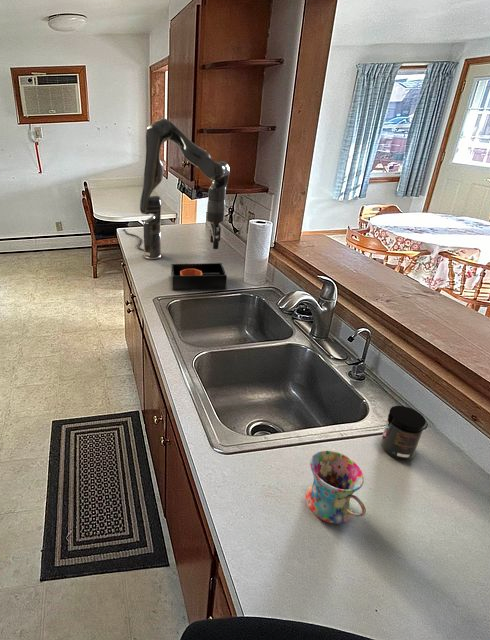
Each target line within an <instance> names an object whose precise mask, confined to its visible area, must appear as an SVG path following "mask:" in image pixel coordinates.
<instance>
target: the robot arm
mask: <svg viewBox="0 0 490 640" xmlns="http://www.w3.org/2000/svg"><path fill="white" fill-rule="evenodd" d="M167 141H171V142H173V143H174V144H175V145H177V147H178V148H179V150H180V152H181V154H182V155H183V157H184V158H185V160H186V161H188V162H189V163H190V164H192V165H193V166H195V167H196V168H198V169H199V170H200V172H202V174H203V175H204V176H205V177H206V178H208V179H209V180H211V181H212V182H211V185H210V186H209V187H208V197H207V205H206V206H207V207H206V221H207V222H208V223H209V234H210V238H209V239H210V240H209V241H210V243H212V249H213V250H218V249H219V243H220V241H221V230H222V228H221V225H220V223H222V222H224V221H225V219H226V218H225V217H226V193H227V192H226V191H227V186H228V182H229V177H230V165H229V164H228V162H227V161H225V160H218V161H214V159H212V158H211V154H210V153H209V152H207V151H206V150H205V149H203V148H202V147H200V146H199V145H197V144H195V143H194V142H193V141H192V140H191V139H189V138H188V137H187V136H186V135H185V134H184V133H183V132H182V131H181V130H180V129H179V128H178V127H177V126H175V124H174V123H173V122H172V121H170V120H169V119H167V118H159V119H158V120H156V121H154V122H152V123H151V124H150V125H149V126H148V127H147V128H146V132H145V159H144V160H145V161H144V168H143V179H142V180H143V181H142V189H141V193H140V201H139V211H140V213H141V214H142V215H145V216H146V215H148V216H149V215H152V216H150V217H148V218H147V219H145V220H143V221H142V227H143V228H142V229H143V230H142V231H143V248H141V247H140V245H141V242H142V239H141V237H140V236H138V235H137V234H135V233H129V232H127V231H126V229H125V228H123V229H122V231H123V232H124V233H125V234H126V235H129V236H133V237H136V238H138V239H139V241H138V244H137V245H136V247H137V249H138V250H140V251H143V258H145V260H158V259H160V258H161V257H162V235H161V234H162V229H161V225H162V223H161V222H162V199H161V197H160V196H159V195H152V193H153V192H154V191H155V190H156V189H157V188H158V186H159V185H160V184H161V183H162V181H163V178H164V172H165V165H164V162H163V160H162V158H161V156H160V154H161V149H162V145H163V144H164V143H166V142H167Z"/></svg>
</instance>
